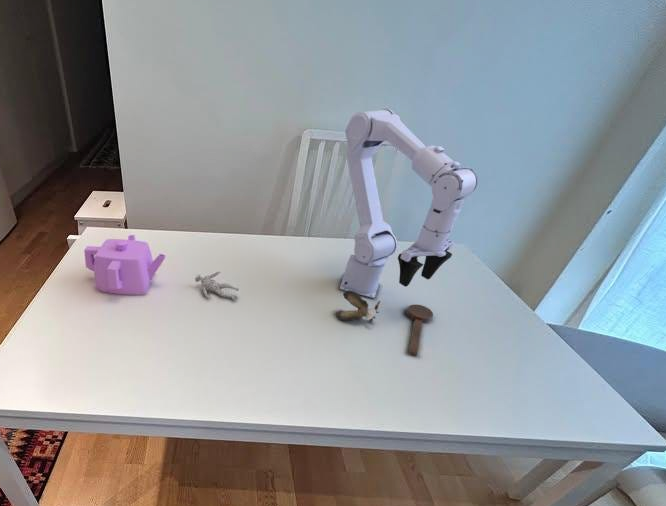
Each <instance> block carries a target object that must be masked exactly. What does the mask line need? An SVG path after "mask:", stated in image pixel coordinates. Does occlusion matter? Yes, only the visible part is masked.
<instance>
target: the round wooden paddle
mask: <svg viewBox="0 0 666 506" xmlns="http://www.w3.org/2000/svg"><path fill="white" fill-rule="evenodd" d="M405 313H406V315H407V317H408V318H409V319H411V320H413V326H412V332H411V337H410V338H411V339H410V345H409V350H408V355H411V356H414V357H417V356H418V354H419V353H418V352H419V345H420V340H421V339H420V338H421V331H422V326H423V325H422V324H423V323H424V324H425V323H429V322H431V320H432V318H433V316H434V313H433V311H432V309H430V308H429V307H427V306H425V305H422V304H415V303H414V304H410V305H409V306H408V307H407V310H406V312H405Z"/></svg>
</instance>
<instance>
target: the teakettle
mask: <svg viewBox="0 0 666 506" xmlns="http://www.w3.org/2000/svg"><path fill="white" fill-rule="evenodd" d="M127 237H128V238H127V239H124V238H123V239H121V238H107V239H105V240H104V242H103V243H102V244H101V246H93V245H87V246H86V247H85V248H84V252H83V253H84V261H85V268H86V269H88V270H90V271H92V272H94V282H95V285H96V287H97V289H98V291H100V292H103V293H110V294H115V295H125V296H126V295H127V296H129V295H130V296H142V295H145V294H146V293H147V291H148V289H149V287H150V285H151V282H152V280H153V277H154V276H155V274H156V272H157V271H158V270H159V268H160V266H161V265H162V264H163V262H164V261H165V259H166V257H167V255H166V254H164V253H161V252H160V253H159V254H158V255H157V257H156V258H155V259H154V258H153V254H152V252H151V249H150V246H149V243H148V242H146V241H141V240H136V235H135V234H129V235H128V236H127Z"/></svg>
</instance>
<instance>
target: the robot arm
mask: <svg viewBox="0 0 666 506" xmlns="http://www.w3.org/2000/svg"><path fill="white" fill-rule="evenodd" d="M344 132H345V138H346V143H347V148H346V149H347V151H346V161H347V165H348V171H349V175H350V181H351V186H352V191H353V196H354V201H355V207H356V212H357V217H358V221H359V229H358V231H357V232H356V233H355V234H354V237H353V239H354V249H353V252H354V253H353V254H350V255H349V258H348V261H347V263H346V266H345V269H344V272H343V273H342V276H341V283H340V286H339V290H342V291H344V292H345V291H348V290H350V291H354V292H356V293H357V294H358V295H359V296H363V297H367V298H371V299H374V298H376V294H377V291H378V288H379V281H380V279H381V276H382V273H383V271H384V268H385V265H386V262H387V261H388V259H389V257H390V256H392V255H394V254H395V253H396V251H397V249H398V240H397V238H396V236H395V235H394V233H393V230H392V226H391V225H390V224H389V223H387V222H386V221H384V217H383V211H382V206H381V202H380V195H379V191H378V185H377V180H376V174H375V169H374V163H373V156H374V154H375V152H376V151H377V150H378V149H379V148H380V147H381V146H382V145H383V143H385V142H387V143H388V144H389V145H392V146H393V147H394V148H396V149H397V150H398V151H399V152H401V153H402V154H403V155H404V156H406V158H408V159H410V160H411V170H412V171H413V172H414V173H416V174H417V175H418V176H419V177H420V178H421V180H423V181H424V182H425V183H426V184H428V186H430V187H431V194H432V200H431V203H430V207H429V209H428V212H427V214H426V217H425V219H424V221H423V224H422V226H421V229H420V231H419V233H418V236H417V239H416V241H415V242H413V243H412V244H411V245H409V247H408V248H406V249H404V250H402V252H400V253H399V254H398V256H397V260H398V264H399V279H398V283H399V284H400V285H402V286H403V287H405V288H407V287H408V286H409V285H410V284H411V282H412V280H413V279H414V276H415V275H416V274H417V272H418V271H419V270H420V269H421V268H422V270H421V273H420V276H421V277H423V278H424V279H426V280H430V279H431V278H432V277H433V276H434V274H436V272H437V271H438V270H439V268H440V267H442V266H443V264H444V263H446V261H448V260H450V259H451V257H452V256H453V253H452V252H450V250H451V249H452V247H453V245H454V243H455V242H454V241H453V240H451V239H449V237H450V234H451V232H452V230H453V227H454V225H455V223H456V221H457V218H458V216H459V214H460V212H461V210H462V207H463V205H464V203H465V200H466V197H468V196H470V195H472V194H473V193H474V191H476V189H477V186H478V182H479V178H478V175H477V173H476V172H475V170H474V169H473V168H472V167H467V166H465V167H460V166H461V163H460V162H459V161H454V160H453V159H451V157H449V156H448V155H447V154H446V153H444V151H445V148H444V147H443V146H441V145H439V146H436V145H429V146H426V145H425V144H424V143H423V142H422V141H421V140H420V139H419V137H417V136H416V135H415V134H414V133H413V132H412V131H411V130H410V129H409V128H408V126H406V125H405V124H404V123H403V122H402V121H401V117H400V115H398V114H396V113H394V111H393V110H391V109H389V108H383V109H378V110H370V111H358V112H356V113H355V114H353V115H352V117H351V118H350V120H349V122H348V123H347V126H346V128H345V130H344ZM420 257H425V259H424V264H423V263H421V262H420V261H419V259H418V258H420Z"/></svg>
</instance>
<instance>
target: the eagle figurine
mask: <svg viewBox="0 0 666 506" xmlns="http://www.w3.org/2000/svg"><path fill="white" fill-rule="evenodd" d="M342 295H343V297H344V299H345V300H346V301H347V302H348V303H349V304H350V305H352V306H353V307H355V308H356V309H357V310H338V311H337V312H335V316H336V317H337V319H339V320H341V321H346V320H347V321H349V320H350V321H356V322H357V321H361V320H362V318H363V317H365V318H366V320H367V321H369V322H370V323H373V319H376V315H377V314H379V313H380V312H379V311H378V309H379V305H380V303H381V301H380V300H379V301H377V303H376V304H375V305H374V307H372V308H369V303H368V302H367V300H365V299H363V298H362V297H361V295H359V294H357V293H356V292H354V291H350V290H348V291H345V290H344V292H342Z"/></svg>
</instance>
